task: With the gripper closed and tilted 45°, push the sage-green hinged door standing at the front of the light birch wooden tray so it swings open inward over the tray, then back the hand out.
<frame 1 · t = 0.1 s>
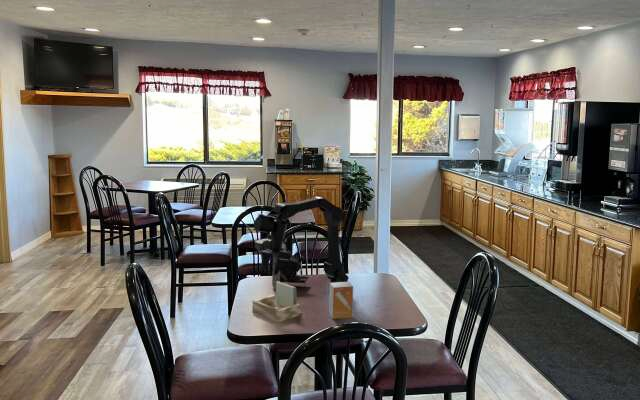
hand: (269, 272, 222), 15 cm above the table, fingers open, 9 cm apart
vintage camera: (290, 286, 253), on the table
case door: (286, 296, 221), point 6 cm above the table, hinge at 0.0°
small box: (340, 316, 217), on the table
wooden tray: (276, 313, 219), on the table
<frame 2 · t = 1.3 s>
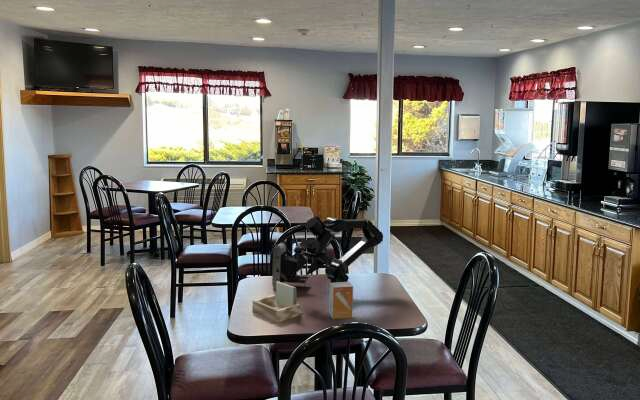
hand: (302, 272, 228), 14 cm above the table, fingers open, 6 cm apart
nothing on the table moved.
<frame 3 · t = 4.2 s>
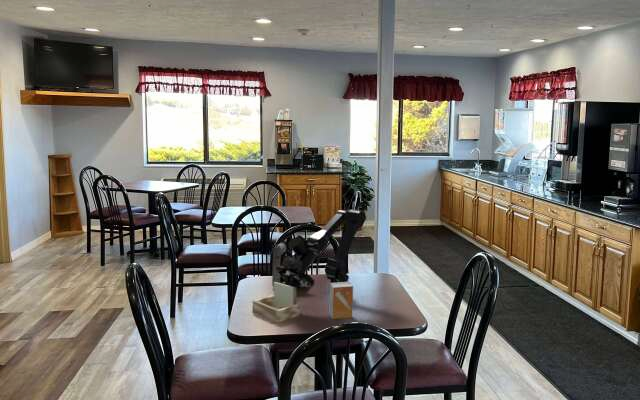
hand: (283, 293, 222), 7 cm above the table, fingers closed, pressing on case door
case door: (285, 296, 221), point 6 cm above the table, hinge at 6.5°, touching gripper
everything else where it was.
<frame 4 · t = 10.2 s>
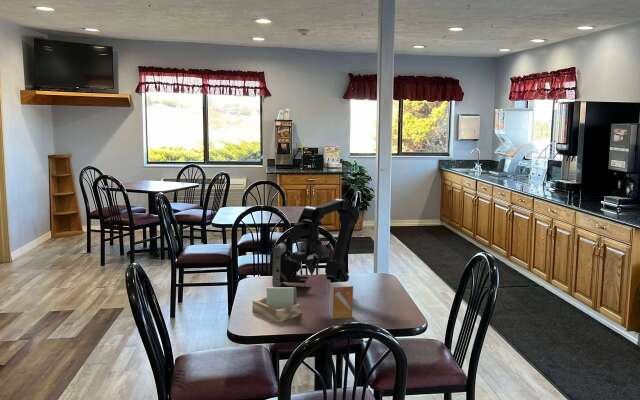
hand: (311, 273, 229), 13 cm above the table, fingers closed
case door: (281, 299, 217), point 6 cm above the table, hinge at 46.8°
everything else where it was.
at the end: case door at +47° (first picture: +0°) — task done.
